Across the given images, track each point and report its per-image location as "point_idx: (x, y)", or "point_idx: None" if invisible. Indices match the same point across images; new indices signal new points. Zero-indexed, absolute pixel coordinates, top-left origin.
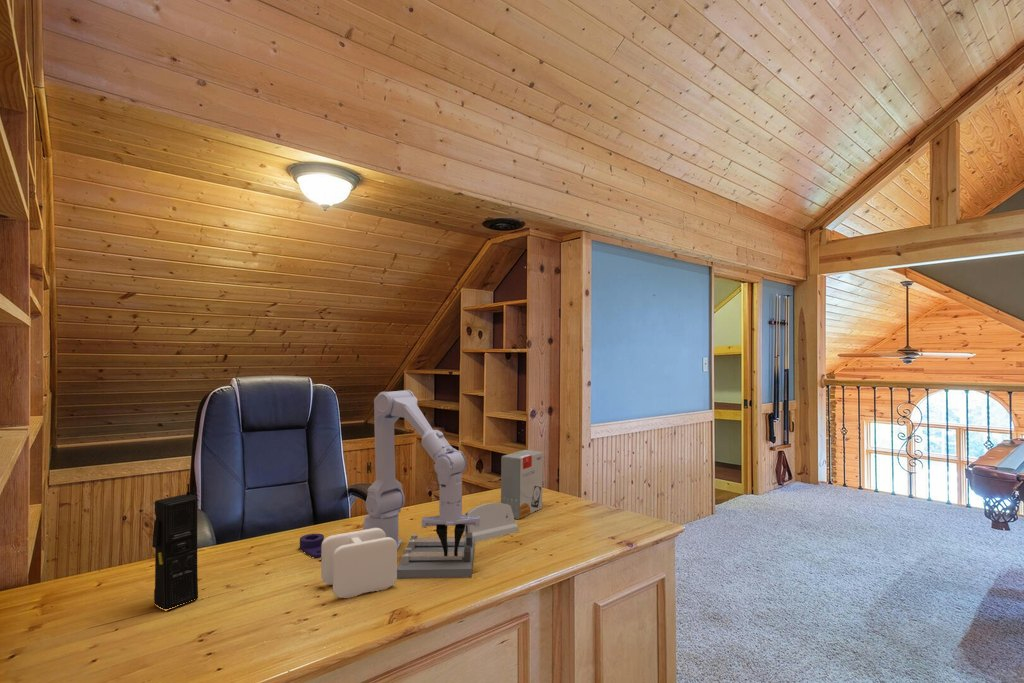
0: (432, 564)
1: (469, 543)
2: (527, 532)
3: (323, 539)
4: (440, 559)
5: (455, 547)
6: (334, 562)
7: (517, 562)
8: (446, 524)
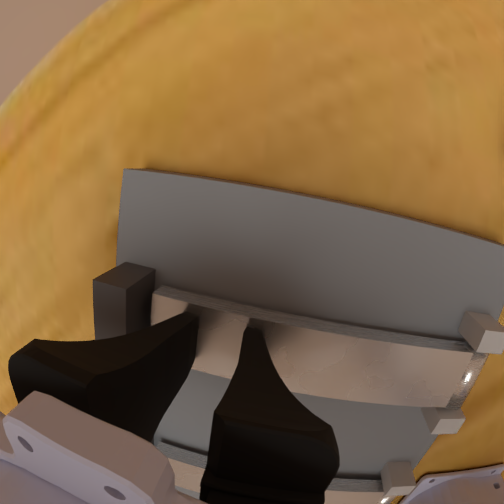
0: (344, 284)
1: None
2: None
3: None
4: (291, 317)
5: (170, 328)
6: None
7: (4, 279)
8: (138, 453)
